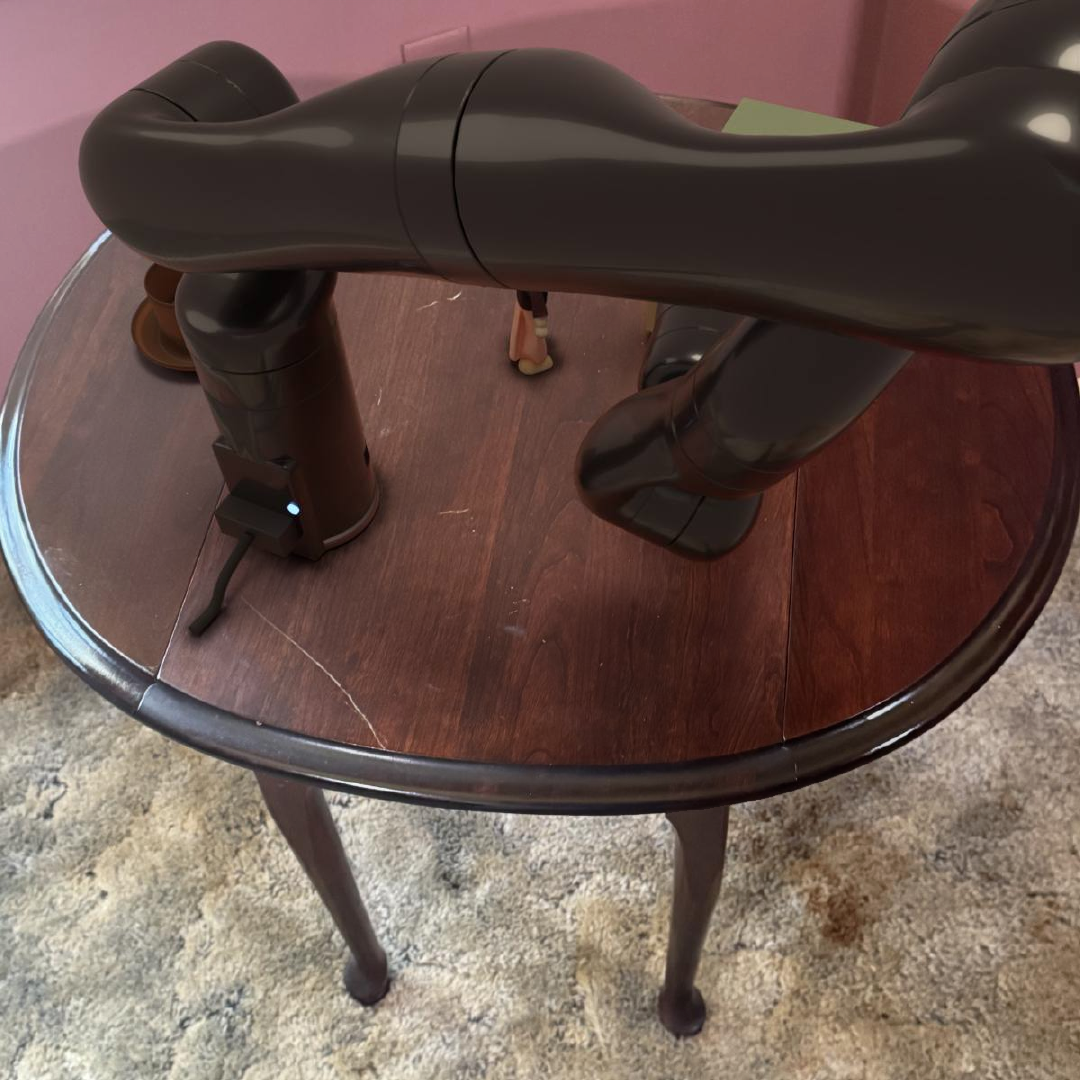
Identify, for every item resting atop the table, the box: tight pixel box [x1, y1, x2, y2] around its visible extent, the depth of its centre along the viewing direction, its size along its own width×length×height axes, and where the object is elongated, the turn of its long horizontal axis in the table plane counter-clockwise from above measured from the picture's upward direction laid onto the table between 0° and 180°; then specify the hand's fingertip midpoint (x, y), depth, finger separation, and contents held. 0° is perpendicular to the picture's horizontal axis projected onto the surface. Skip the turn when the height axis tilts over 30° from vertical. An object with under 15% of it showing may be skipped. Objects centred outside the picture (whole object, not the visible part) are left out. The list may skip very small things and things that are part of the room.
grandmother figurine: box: [509, 290, 553, 375], centre depth 85 cm, size 8×4×13 cm, turn 21°
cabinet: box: [720, 97, 880, 136], centre depth 94 cm, size 14×13×9 cm
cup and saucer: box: [130, 262, 196, 372], centre depth 90 cm, size 12×12×6 cm
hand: (759, 154), depth 82 cm, fingers closed on supplement bottle, 5 cm apart
